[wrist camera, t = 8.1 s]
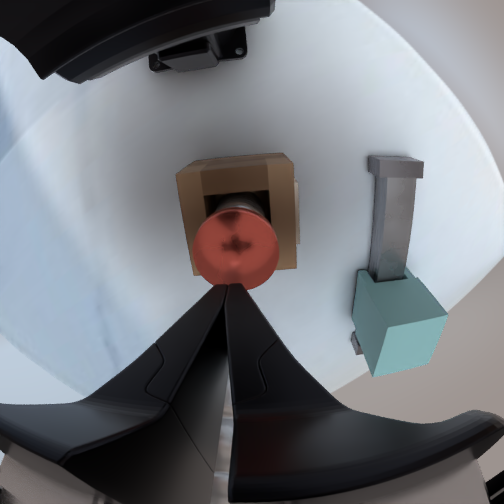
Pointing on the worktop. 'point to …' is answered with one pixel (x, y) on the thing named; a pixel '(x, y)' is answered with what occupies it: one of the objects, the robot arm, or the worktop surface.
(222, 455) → the plastic bottle
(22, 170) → the worktop surface
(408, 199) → the rail
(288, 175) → the brown button housing
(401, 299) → the carriage
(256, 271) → the button
